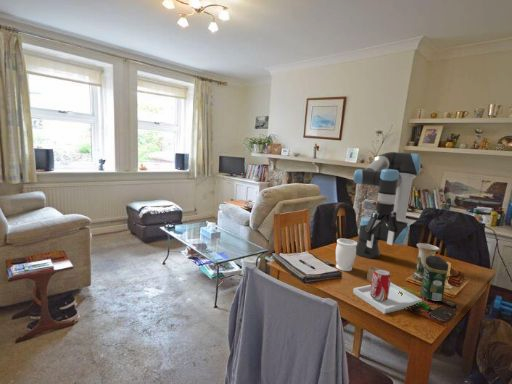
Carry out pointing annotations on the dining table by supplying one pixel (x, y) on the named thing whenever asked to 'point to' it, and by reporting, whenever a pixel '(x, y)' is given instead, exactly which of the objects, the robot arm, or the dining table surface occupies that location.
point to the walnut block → (370, 273)
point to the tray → (393, 300)
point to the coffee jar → (434, 278)
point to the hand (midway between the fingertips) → (379, 245)
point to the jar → (345, 254)
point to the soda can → (380, 285)
